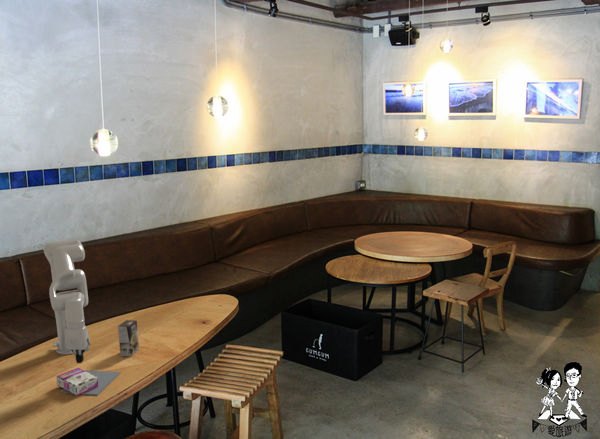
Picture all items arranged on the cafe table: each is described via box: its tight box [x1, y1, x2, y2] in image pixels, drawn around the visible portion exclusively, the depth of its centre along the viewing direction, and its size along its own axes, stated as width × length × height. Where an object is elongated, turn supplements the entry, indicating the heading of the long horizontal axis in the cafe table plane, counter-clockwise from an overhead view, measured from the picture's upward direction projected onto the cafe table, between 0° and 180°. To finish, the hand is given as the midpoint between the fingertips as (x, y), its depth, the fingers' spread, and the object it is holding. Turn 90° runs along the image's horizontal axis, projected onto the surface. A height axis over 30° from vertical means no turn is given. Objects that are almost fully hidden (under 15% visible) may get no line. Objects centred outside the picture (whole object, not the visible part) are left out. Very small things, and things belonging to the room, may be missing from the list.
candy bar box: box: [56, 367, 98, 396], centre depth 268 cm, size 11×5×16 cm
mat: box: [59, 369, 121, 396], centre depth 273 cm, size 18×22×1 cm
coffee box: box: [117, 319, 140, 357], centre depth 304 cm, size 9×6×16 cm
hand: (80, 362), depth 272 cm, fingers closed
